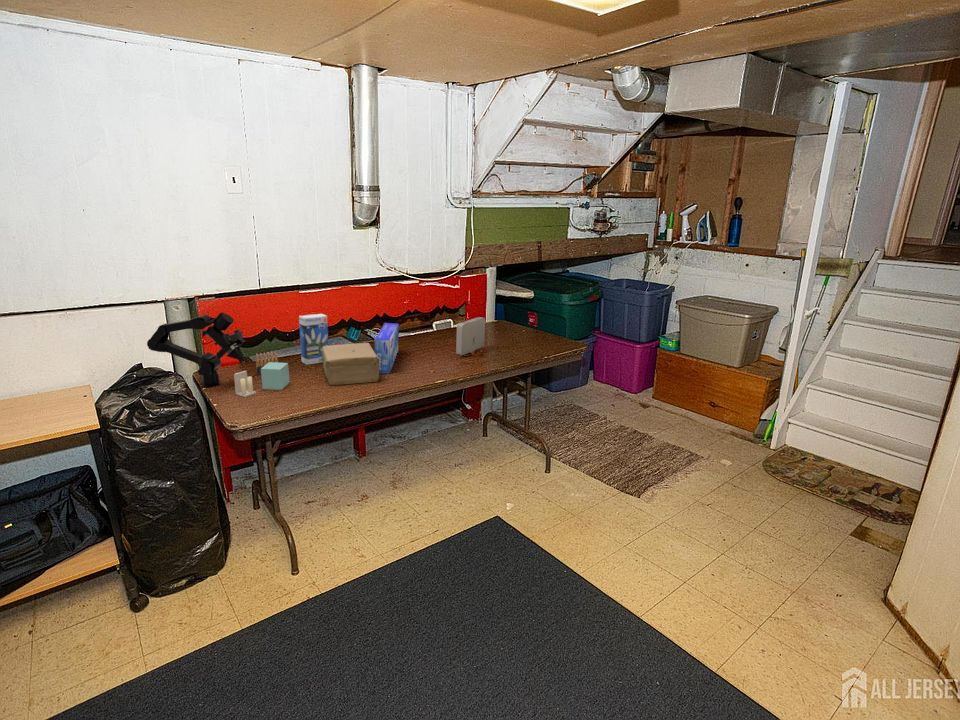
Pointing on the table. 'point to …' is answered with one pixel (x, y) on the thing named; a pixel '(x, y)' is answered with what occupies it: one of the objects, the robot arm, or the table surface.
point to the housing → (275, 376)
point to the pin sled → (243, 384)
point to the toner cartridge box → (387, 346)
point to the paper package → (350, 363)
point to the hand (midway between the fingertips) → (245, 360)
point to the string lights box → (313, 337)
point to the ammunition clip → (259, 366)
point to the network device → (470, 335)
